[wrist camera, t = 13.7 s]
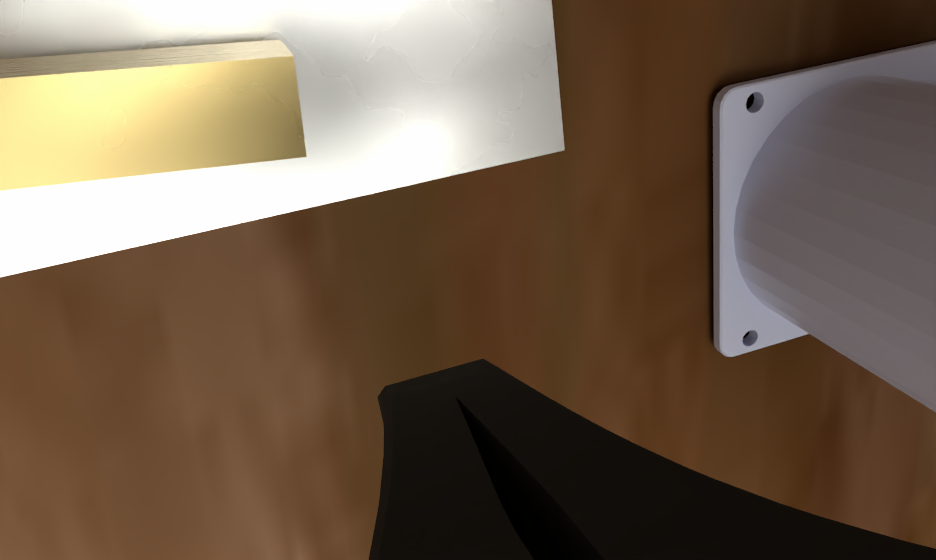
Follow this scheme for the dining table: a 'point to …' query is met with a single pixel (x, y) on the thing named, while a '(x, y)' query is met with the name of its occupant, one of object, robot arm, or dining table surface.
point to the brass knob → (146, 112)
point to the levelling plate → (322, 109)
